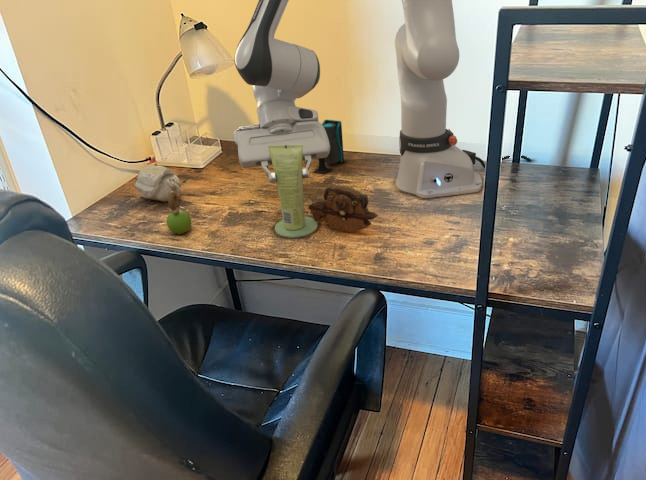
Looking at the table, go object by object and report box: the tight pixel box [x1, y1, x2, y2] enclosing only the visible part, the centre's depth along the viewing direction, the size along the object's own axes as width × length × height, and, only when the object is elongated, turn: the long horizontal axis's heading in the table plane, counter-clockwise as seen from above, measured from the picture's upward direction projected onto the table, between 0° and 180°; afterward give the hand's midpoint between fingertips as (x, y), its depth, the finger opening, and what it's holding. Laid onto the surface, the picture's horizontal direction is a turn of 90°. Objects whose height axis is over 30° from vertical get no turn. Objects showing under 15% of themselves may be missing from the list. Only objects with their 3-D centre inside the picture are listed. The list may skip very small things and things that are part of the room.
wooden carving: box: [307, 185, 379, 233], centre depth 119 cm, size 16×5×10 cm, turn 70°
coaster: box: [274, 215, 319, 239], centre depth 124 cm, size 10×10×1 cm
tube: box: [268, 145, 306, 230], centre depth 119 cm, size 6×5×20 cm
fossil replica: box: [134, 163, 182, 203], centre depth 140 cm, size 12×8×10 cm
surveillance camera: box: [313, 119, 345, 175], centre depth 151 cm, size 6×12×10 cm
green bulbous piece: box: [166, 179, 192, 235], centre depth 122 cm, size 5×6×12 cm
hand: (289, 179), depth 117 cm, fingers closed on tube, 6 cm apart
